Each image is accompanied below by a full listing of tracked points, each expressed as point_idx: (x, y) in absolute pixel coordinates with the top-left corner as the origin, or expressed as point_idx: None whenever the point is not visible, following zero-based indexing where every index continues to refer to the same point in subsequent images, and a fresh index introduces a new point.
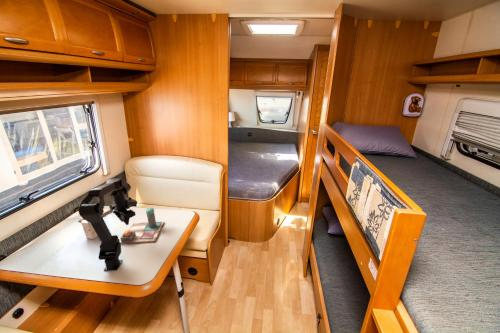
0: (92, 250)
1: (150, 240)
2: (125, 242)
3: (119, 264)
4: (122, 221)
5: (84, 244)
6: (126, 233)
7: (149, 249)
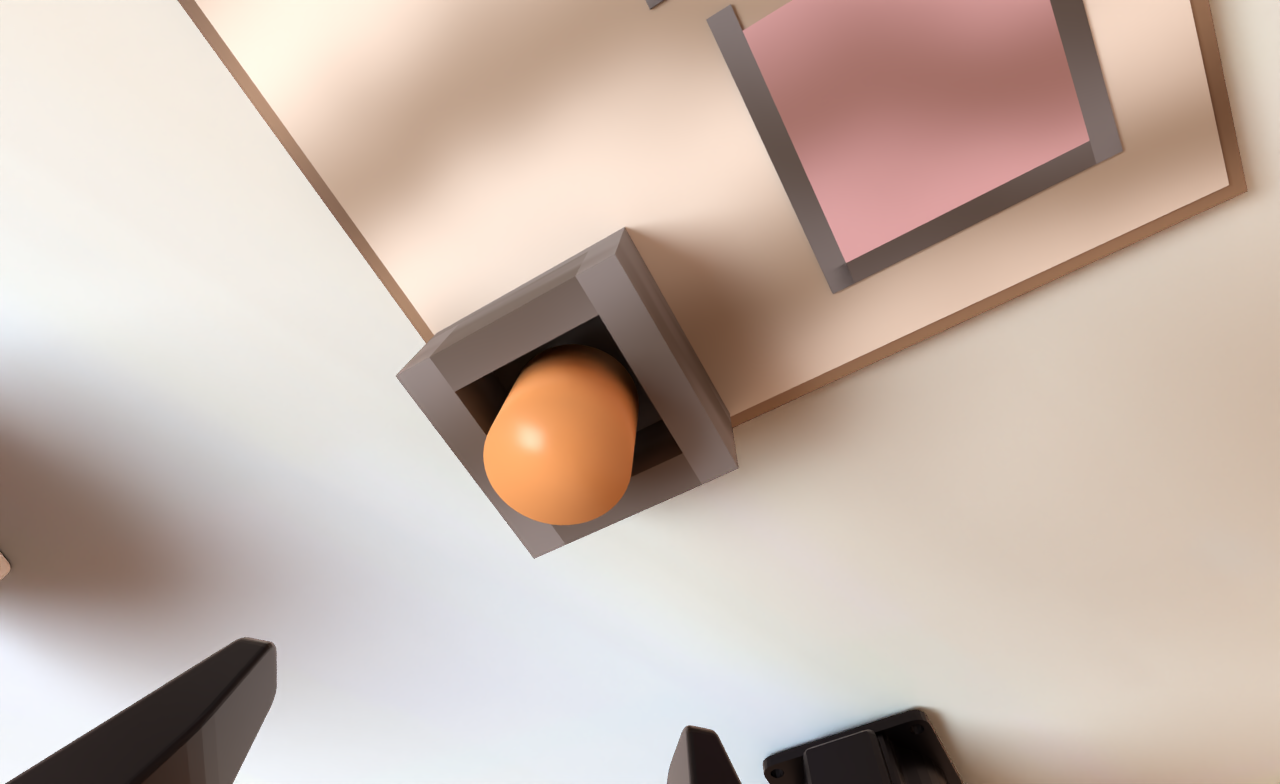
0: (318, 706)
1: (1116, 227)
2: None
3: (951, 773)
4: (273, 690)
5: (74, 672)
6: (598, 508)
7: (1208, 404)
